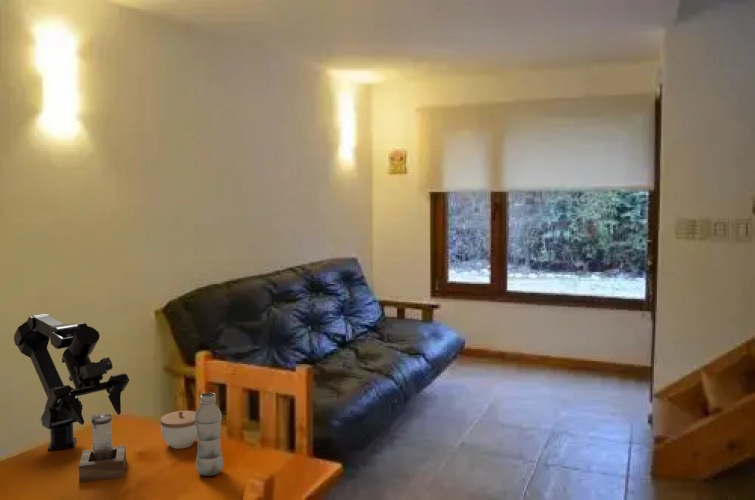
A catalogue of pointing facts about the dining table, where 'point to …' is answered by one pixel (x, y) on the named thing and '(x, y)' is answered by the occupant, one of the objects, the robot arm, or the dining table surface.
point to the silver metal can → (102, 437)
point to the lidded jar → (179, 429)
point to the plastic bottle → (208, 436)
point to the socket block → (102, 465)
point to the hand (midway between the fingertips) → (101, 418)
